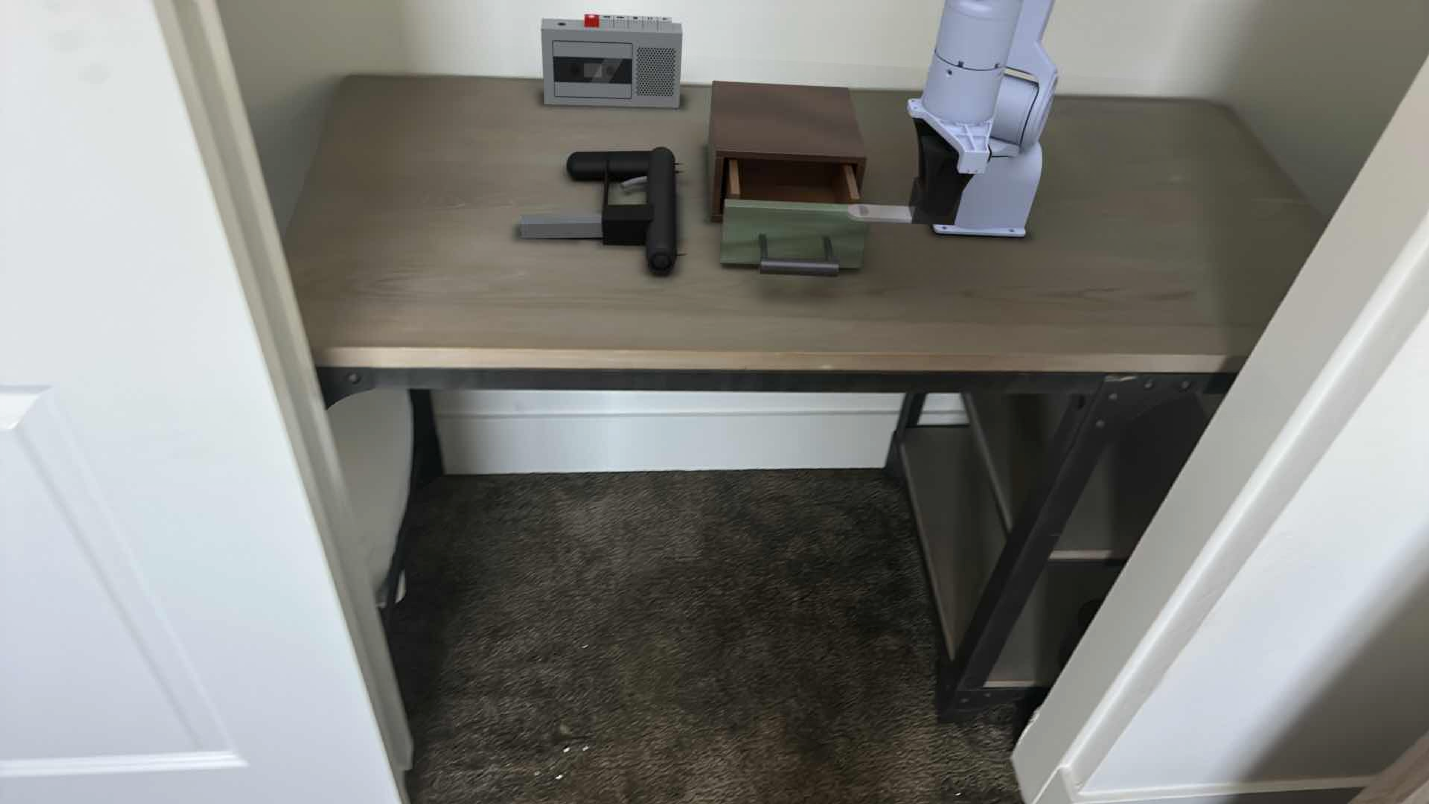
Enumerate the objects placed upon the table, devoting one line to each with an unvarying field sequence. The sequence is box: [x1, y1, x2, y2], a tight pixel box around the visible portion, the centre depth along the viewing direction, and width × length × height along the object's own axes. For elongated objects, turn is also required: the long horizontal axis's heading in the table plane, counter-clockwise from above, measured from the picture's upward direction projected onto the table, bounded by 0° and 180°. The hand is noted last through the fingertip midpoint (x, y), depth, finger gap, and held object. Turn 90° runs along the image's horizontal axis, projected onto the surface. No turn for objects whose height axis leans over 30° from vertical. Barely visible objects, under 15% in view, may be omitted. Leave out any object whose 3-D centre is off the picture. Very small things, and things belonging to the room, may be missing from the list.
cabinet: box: [707, 80, 868, 223], centre depth 107 cm, size 15×15×8 cm
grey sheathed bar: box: [846, 176, 963, 226], centre depth 90 cm, size 9×2×3 cm, turn 92°
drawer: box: [719, 157, 870, 278], centre depth 99 cm, size 19×13×6 cm
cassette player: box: [540, 13, 684, 109], centre depth 118 cm, size 16×3×10 cm, turn 94°
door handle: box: [519, 146, 687, 275], centre depth 103 cm, size 3×20×16 cm
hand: (933, 203), depth 90 cm, fingers closed on grey sheathed bar, 2 cm apart
